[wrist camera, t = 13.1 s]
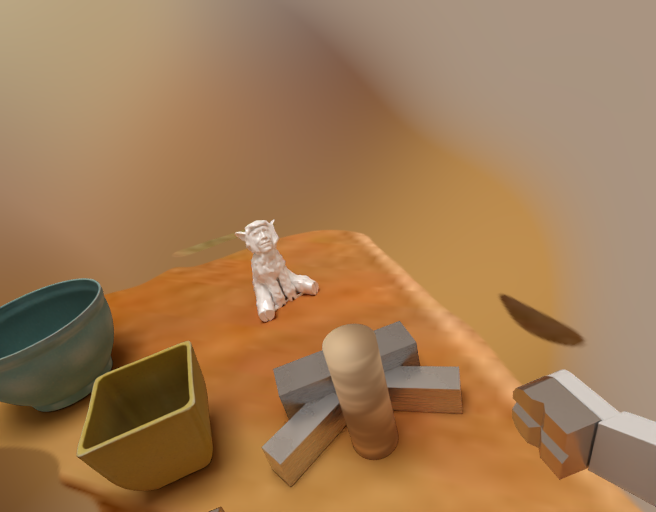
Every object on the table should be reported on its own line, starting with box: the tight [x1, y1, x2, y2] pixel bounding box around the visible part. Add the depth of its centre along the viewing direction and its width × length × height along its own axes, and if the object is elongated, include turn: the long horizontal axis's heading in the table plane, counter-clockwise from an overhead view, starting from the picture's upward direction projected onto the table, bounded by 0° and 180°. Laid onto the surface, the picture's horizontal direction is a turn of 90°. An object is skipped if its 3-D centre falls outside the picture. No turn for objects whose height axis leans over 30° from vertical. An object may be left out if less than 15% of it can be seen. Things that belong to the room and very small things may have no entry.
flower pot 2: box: [77, 341, 213, 491], centre depth 34 cm, size 9×9×9 cm
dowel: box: [322, 324, 398, 460], centre depth 31 cm, size 4×4×11 cm
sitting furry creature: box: [235, 220, 319, 322], centre depth 54 cm, size 10×9×12 cm
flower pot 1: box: [0, 278, 114, 412], centre depth 47 cm, size 16×16×11 cm
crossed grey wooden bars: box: [262, 321, 463, 487], centre depth 35 cm, size 18×8×5 cm, turn 106°
